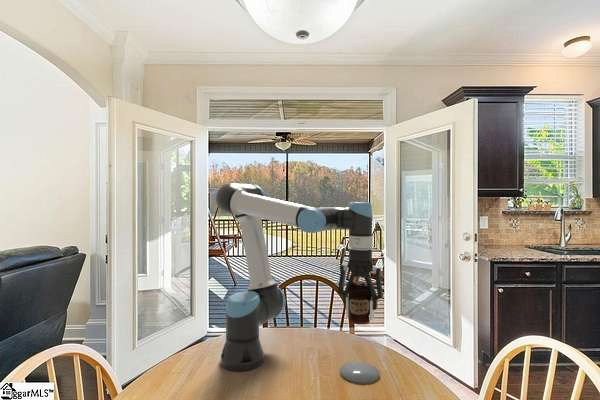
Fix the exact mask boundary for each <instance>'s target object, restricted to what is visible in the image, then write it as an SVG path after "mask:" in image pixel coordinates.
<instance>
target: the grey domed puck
mask: <svg viewBox="0 0 600 400" xmlns="http://www.w3.org/2000/svg"><path fill="white" fill-rule="evenodd" d="M339 375H340V376H341V377H342V378H343V379H344V380H345V381H348V382H351V383H353V384H361V385H362V384H363V385H365V384H366V385H367V384H371V383H375V382H377V381H378V380H379V379H380V370H379V369H378V368H377V367H376V366H375V365H372V364H371V363H367V362H364V361H350V362H346V363H344V364H342V365H341V366H340V368H339Z"/></svg>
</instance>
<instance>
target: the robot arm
mask: <svg viewBox="0 0 600 400" xmlns="http://www.w3.org/2000/svg"><path fill="white" fill-rule="evenodd" d="M215 203H216V205H217V207H218V209H219V210H220V211H222V212H223V213H226V214H231V215H234V219H235V221H236V222H237V223H239V226H240V231H241V237H242V242H243V249H244V254H245V260H246V265H247V266H246V267H247V270H248V276H249V277H248V278H249V282H250V283H249V286H248V287H247V290H244V291H239V292H235V293H233V294H232V295H230V296H229V297H228V298H227V300H226V304H225V342H224V345H223V348H222V351H221V355H220V365H221V366H222V368H224V369H226V370H228V371H233V372H235V371H236V372H245V371H250V370H254V369H256V368H258V367H260V366H261V365H262V364H263V363H264V361H265V353H264V351H263V350H264V349H263V347H262V343H261V341H260V326H261V325H263V324H265V323H267V322H269V321H271V320H274V319H276V318H277V317H278V316H280V315H281V314H282V313H283V311H284V310H285V307H286V304H287V301H286V300H287V299H286V295H285V292H284V291H283V290H282V289H281V288H280V287H279V286H278V281H276V280H275V279H274V278H273V276H272V270H271V266H270V261H269V256H268V250H267V244H266V238H265V233H264V228H263V223H262V219H263V220H267V221H270V222H273V223H274V222H275V223H278V224H283V225H286V226H291V227H295V228H299V229H300V230H302V232H304V233H308V234H316V233H321V232H325V231H330V230H332V231H333V230H347V231H348V247H349V249H348V263H345V264H344V263H342V264H340V265H339V271H340V272H339V273H340V275H339V281H338V289H337V294H339V295H341V296H342V297H343V301H342V304H343V306H344V307H345V317H346V318H350V312H349V293H348V287H349V286H350V283H352V282H355V278H357V277H358V278H359V277H360V278H363V279H364V280H365V282H366V283H367V286H369V285H370V286H369V288H370V290H371V293H370V294H371V296H372V299H371V300H370V315H369V320H370V322H371V321H373V320H374V318H375V311H376V310H378V300H381V299H383V298H384V293H383V285H382V284H383V283H382V278H381V277H382V276H381V275H382V274H381V273H382V267H381V266H379V267H378V266H374V264H373V250H372V248H373V218H374V217H373V206H372V204H371V202H368V201H351V202H349V204H348V206H347V207H334V206H333V207H332V206H331V207H330V206H323V207H321V206H320V207H315V206H309V205H304V204H300V203H296V202H295V203H294V202H291V201H290V202H289V201H285V200H281V199H277V198H272V197H267V195H266V192H265V191H264V189H263V188H262V187H260V186H259V185H257V184H253V183H238V182H237V183H235V182H230V183H225V184H224V185H221V186H220V187H219V189H218V190H217V192H216V194H215ZM348 269H349V271H350V276H349V279H348V281H347V284H346V286H345V283H346V282H345V281H346V275H347V270H348ZM372 271H373V273H374V276H375V278H374V279H375V284H376V289H375V285H374V283H373V281H372V278H371V275H370V273H371V272H372Z"/></svg>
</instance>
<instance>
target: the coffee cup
mask: <svg viewBox="0 0 600 400" xmlns="http://www.w3.org/2000/svg"><path fill="white" fill-rule="evenodd" d="M369 286H370V285H369ZM369 286H367V283H366V281H361V280H359V281H358V280H357V281H353V282H352V283H350V286H349V287H348V293H349V294H348V295H349V312H350V316H349V321H350V322H351V323H352V324H354V325H368V324H370V322H371V320H370V300H371V299H372V296H371V294H370V293H371V290H370V288H369Z"/></svg>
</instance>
